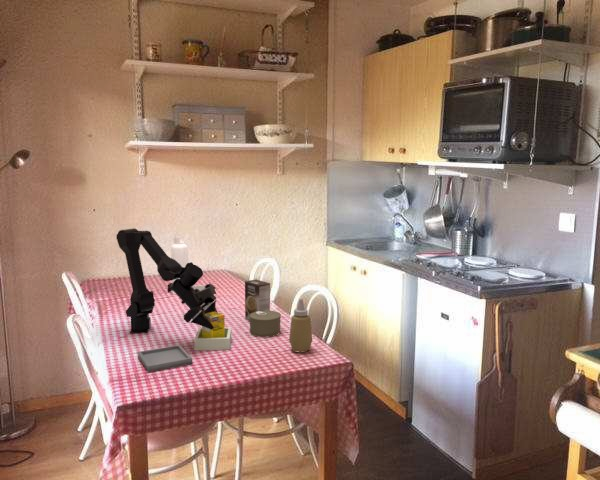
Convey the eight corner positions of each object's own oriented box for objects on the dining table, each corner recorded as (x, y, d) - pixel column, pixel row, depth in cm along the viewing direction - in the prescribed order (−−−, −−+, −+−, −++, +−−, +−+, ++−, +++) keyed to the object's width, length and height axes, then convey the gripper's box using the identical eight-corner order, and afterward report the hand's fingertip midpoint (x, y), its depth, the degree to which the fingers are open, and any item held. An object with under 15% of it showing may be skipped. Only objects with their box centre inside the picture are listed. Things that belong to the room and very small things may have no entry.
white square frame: (194, 350, 179) (194, 339, 178) (198, 338, 190) (198, 328, 190) (229, 349, 180) (229, 338, 179) (231, 337, 191) (231, 327, 191)
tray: (138, 357, 172) (137, 351, 172) (179, 350, 179) (179, 344, 178) (148, 372, 160) (148, 366, 160) (192, 363, 167) (192, 358, 166)
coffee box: (244, 319, 214) (244, 281, 211) (256, 316, 218) (256, 278, 216) (258, 324, 207) (258, 285, 205) (270, 320, 212) (270, 282, 209)
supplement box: (225, 344, 185) (224, 314, 183) (211, 348, 181) (210, 318, 179) (215, 339, 189) (215, 311, 187) (201, 343, 185) (201, 314, 183)
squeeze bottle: (292, 355, 175) (292, 303, 172) (286, 347, 182) (286, 297, 179) (315, 352, 177) (315, 301, 174) (308, 344, 184) (308, 295, 182)
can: (260, 339, 190) (259, 321, 189) (243, 330, 200) (243, 313, 198) (287, 333, 197) (287, 316, 196) (269, 325, 206) (269, 308, 205)
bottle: (180, 295, 251) (179, 238, 246) (168, 293, 255) (166, 237, 251) (192, 292, 257) (191, 236, 253) (180, 289, 262) (178, 235, 257)
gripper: (191, 284, 173) (223, 318, 173) (210, 272, 191) (240, 303, 191) (170, 305, 176) (201, 339, 175) (191, 292, 194) (220, 322, 193)
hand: (217, 324), depth 184 cm, fingers closed on supplement box, 8 cm apart
